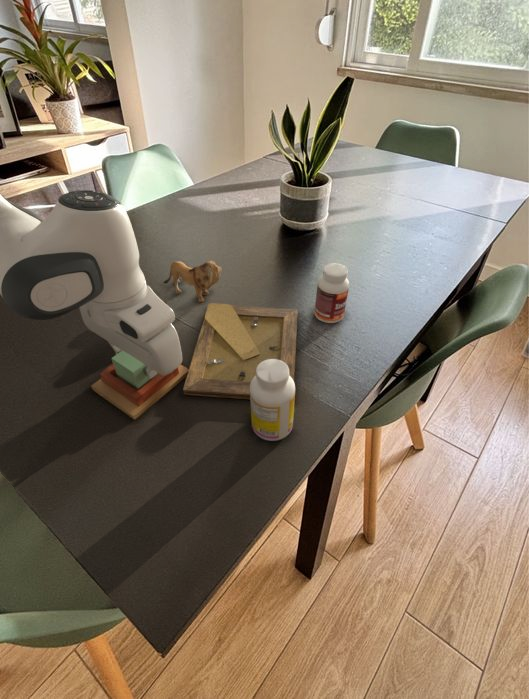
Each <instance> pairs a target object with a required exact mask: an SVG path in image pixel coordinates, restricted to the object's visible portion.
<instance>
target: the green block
mask: <svg viewBox="0 0 529 699" xmlns="http://www.w3.org/2000/svg"><path fill="white" fill-rule="evenodd" d="M111 362H112V364H113V365H114V368H115V371H116V373H117V375H118V376H120V377H121V378H123V379H124V380H126V381H127V382H129V383H130V384H132V385H133V386H135V387H136V388H138V389H139V388H140V387H141V386H143V385H144V384H145V383H146V382H148V381H149V380H150V378H149V377H147V376H146V375H144V372H143V368H144V367H146V365H145V364H144V363H142V362H140V361H139V360H137V359H136V358H134V357H132V356H131V355H129V354H128V353H126V352H124V351H123V350H122V351H121V352H120V353H118V354H117V355H116V354H115V355H114V356H112V357H111ZM157 374H158V373H157Z"/></svg>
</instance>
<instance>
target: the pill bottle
mask: <svg viewBox="0 0 529 699" xmlns="http://www.w3.org/2000/svg"><path fill="white" fill-rule="evenodd" d="M348 273H349V272H348V268H347V267H346V266H345V265H344V264H340V263H333V262H332V263H327V264H326V265H324V266H323V269H322V274H321V276H319V278H318V280H317V285H316V294H315V302H314V303H315V304H314V316H315V317H316V319H317V320H319V321H321V322H322V323H326V324H335V323H336V324H337V323H339V322H340V321H341V320H343V319H344V316H345V312H346V307H347V300H348V295H349V289H350V280H349V279H348V278H347V277H348Z"/></svg>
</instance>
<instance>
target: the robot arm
mask: <svg viewBox="0 0 529 699" xmlns="http://www.w3.org/2000/svg"><path fill="white" fill-rule="evenodd" d="M136 238H137V237H136V235H135V232H134V228H133V226H132V222H131V219H130V217H129V214H128V212H127V210H126V208H125V206H124V205H123V204H122V202H120V201H119V200H118V199H117V198H115V197H114V196H112V195H110V194H109V193H106V192H104V191H103V192H102V191H97V190H89V189H80V190H79V189H78V190H72V191H69V192H66V193H63V194H62V195H60V196H59V197H58V199H57V200H56V203H55V204H54V207H53V208H52V210H51V211H50V212H49V213H48V214H47V215H46V217H45V218H44V219H43V218H42V217H41V216H40V215H38V214H36V213H35V212H34V211H31V210H29V209H27V208H25V207H23V206H21V205H19V204H16V203H14V202H13V201H10V200H9V199H8V198H6V197H5V196H4V195H3V194H1V193H0V297H2V299H3V301H4V303H5V305H6V306H7V307H8V308H9V309H10V310H11V311H13V313H15V314H17V315H18V316H21V317H23V318H26V319H29V320H36V321H46V320H48V321H49V320H53V319H56V318H59V317H62V316H64V315H66V314H68V313H71V312H73V311H75V310H77V309H79V313H80V316H81V319H82V321H83V324H84V325H85V327H86V328H87V329H88V330H89V331H90V332H93V333H94V334H96V335H97V336H98V337H100V338H102V339H104V340H105V341H106V342H107V343H108V344H109V345H110V347H111V348H112V349H113V351H114V353H115V355H117V354H118V353H120V352H121V351H122V350H123V351H124V352H126V353H128V354H129V355H131V356H132V357H134V358H136V359H137V360H139V361H140V362H142V363H144V364H145V365H146V367H144V368H143V372H144V375H146V376H147V377H149V378H150V379H152V378H153V377H154V376H156V375H157V373H159V374H161V375H163V376H167V375H168V374H170V373H172V372H173V371H174V370H175V369H177V368H178V367H179V366H180V365H182V362H183V353H182V346H181V343H180V338H179V335H178V332H177V330H176V328H175V327H174V325H173V324H172V323H173V322H175V320H176V316H175V312H174V310H173V309H172V307H170V306H169V305H168V304H167V303H166V302H164V301H163V300H162V299H161V298H160V297H159V296H158V295H157V294H156V293H155V292H154V291H153V289H152V288H151V287H150V285H147V281H146V278H145V274H144V272H143V270H142V269H141V267H140V251H139V247H138V243H137V239H136Z"/></svg>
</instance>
